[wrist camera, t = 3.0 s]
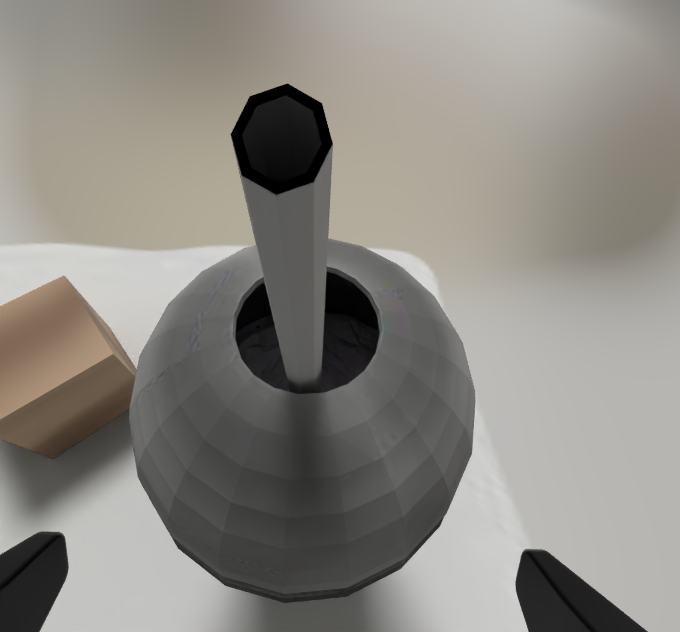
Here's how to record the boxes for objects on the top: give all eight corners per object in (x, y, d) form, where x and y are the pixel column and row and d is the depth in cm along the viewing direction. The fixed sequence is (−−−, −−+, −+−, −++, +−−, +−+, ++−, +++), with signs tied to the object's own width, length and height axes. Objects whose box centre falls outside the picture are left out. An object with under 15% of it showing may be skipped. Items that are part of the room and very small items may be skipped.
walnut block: (153, 395, 21) (113, 353, 17) (54, 459, 19) (-21, 431, 15) (110, 328, 23) (64, 275, 18) (15, 381, 21) (-61, 335, 16)
